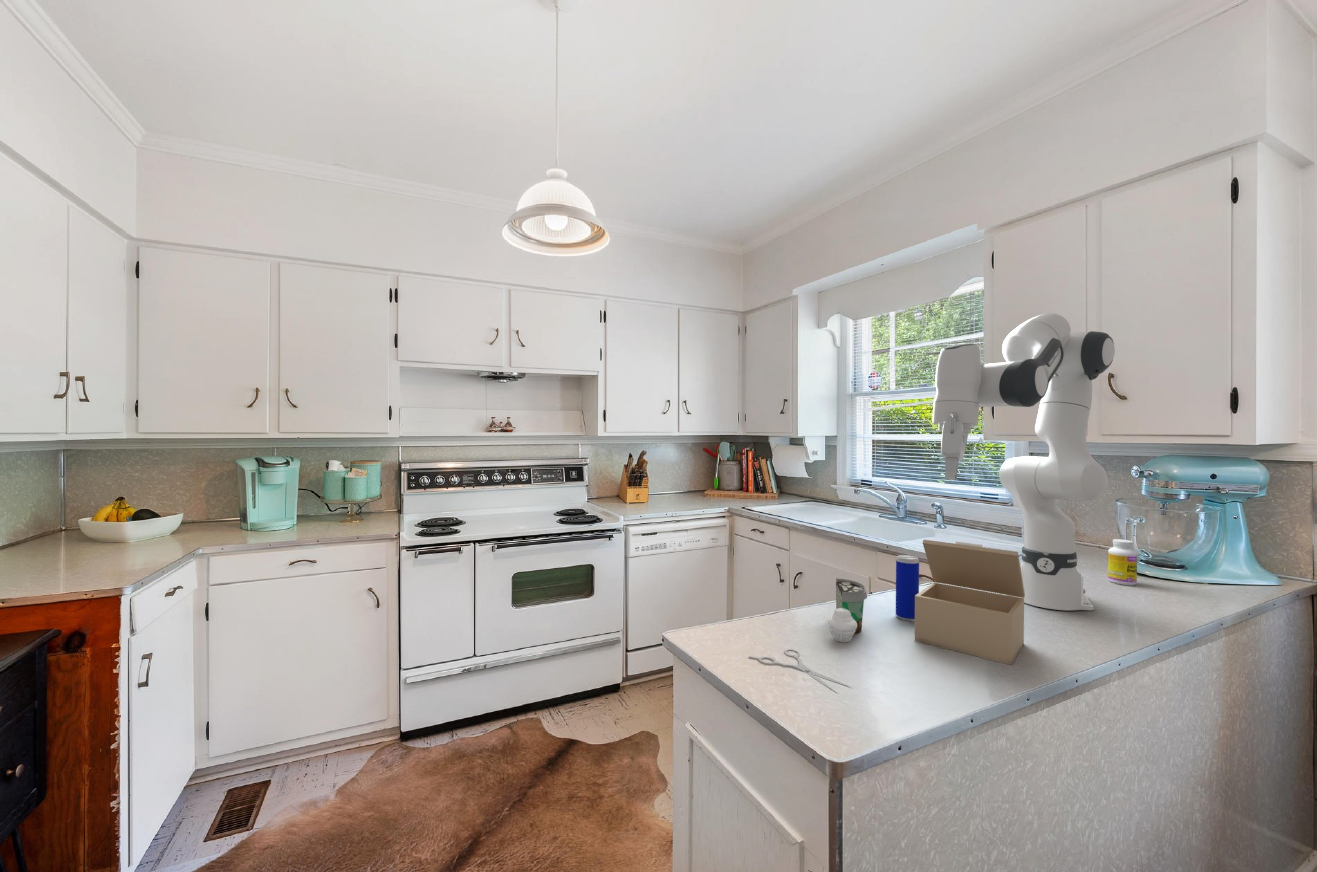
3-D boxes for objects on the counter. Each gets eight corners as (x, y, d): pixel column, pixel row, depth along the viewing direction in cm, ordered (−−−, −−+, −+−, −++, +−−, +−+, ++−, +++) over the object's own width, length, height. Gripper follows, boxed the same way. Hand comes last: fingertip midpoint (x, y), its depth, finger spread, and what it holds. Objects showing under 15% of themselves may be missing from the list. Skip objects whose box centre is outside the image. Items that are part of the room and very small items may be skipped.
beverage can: (918, 615, 134) (918, 555, 134) (919, 622, 129) (919, 560, 129) (895, 613, 136) (896, 553, 136) (895, 619, 131) (896, 558, 131)
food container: (871, 639, 119) (871, 594, 119) (842, 637, 120) (842, 592, 120) (862, 620, 131) (862, 579, 131) (835, 618, 132) (835, 577, 132)
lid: (933, 581, 128) (935, 576, 129) (1024, 597, 116) (1025, 591, 117) (922, 542, 122) (924, 537, 123) (1017, 555, 110) (1018, 549, 110)
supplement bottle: (1128, 587, 159) (1128, 543, 159) (1102, 581, 165) (1103, 539, 165) (1142, 584, 161) (1142, 541, 161) (1116, 578, 168) (1117, 537, 167)
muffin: (823, 640, 119) (823, 608, 118) (833, 631, 123) (834, 601, 123) (851, 647, 115) (851, 614, 114) (861, 638, 119) (861, 607, 119)
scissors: (785, 645, 115) (866, 681, 98) (785, 648, 115) (866, 686, 98) (748, 656, 109) (826, 697, 92) (748, 660, 109) (826, 701, 93)
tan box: (933, 623, 129) (933, 582, 128) (1023, 644, 116) (1024, 598, 116) (914, 640, 118) (914, 595, 118) (1011, 665, 106) (1012, 614, 106)
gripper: (971, 411, 108) (966, 480, 107) (972, 422, 125) (968, 481, 125) (935, 410, 111) (931, 477, 110) (941, 420, 128) (937, 478, 128)
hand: (950, 479), depth 118 cm, fingers open, 8 cm apart
